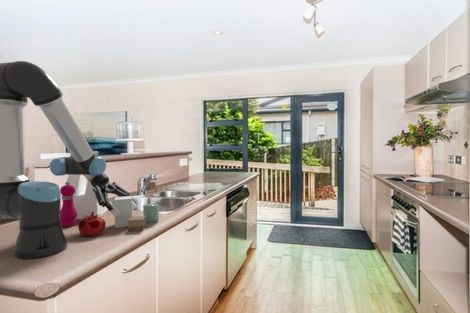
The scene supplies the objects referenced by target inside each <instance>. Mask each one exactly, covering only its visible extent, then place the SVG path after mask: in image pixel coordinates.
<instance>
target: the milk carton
mask: <svg viewBox="0 0 470 313" xmlns="http://www.w3.org/2000/svg"><path fill="white" fill-rule="evenodd" d="M66 182H70V184H69V185H72V186H74V187H75V193H74V194H73V195H74V199H73V204H74V207H75V209H76V211H77V217H76V219H75V220H81V219H83V218H84V216H85V218H86V217H87V216H90V215H91V214H92V212H94V216H95V215H98V214H100V215H98V216H97V217H99V216H100V217H101V216H102V215H103V214H104V213H106V212H107V211H109V210H108V209H107V208H106V207H102V206H100V205H99V203H98V201H97V198H96V195H95V193H94V191H93V190H92V189H93V188H94V187H93V186H92V185H91V184H90V182H89V181H88V180H87V179H86V178H85V177H84V176H83V175H69V174H68V175H67V180H66ZM100 217H99V218H100Z"/></svg>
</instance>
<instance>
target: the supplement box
mask: <svg viewBox="0 0 470 313" xmlns="http://www.w3.org/2000/svg"><path fill="white" fill-rule="evenodd" d="M132 201H133V197H132V195H129V196H126V197H119V196H115V198H114V199H113V203H114V204H113V205H114V206H115V207H116V209H117V210H118V211H119V212H120V213H119V214H118V215H117V217H115V216H114V228H115V229H118V228H125V227H126V228H127V227H128V220H129V219H130V218H131V217H132V216H133V210H132Z"/></svg>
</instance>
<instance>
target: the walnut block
mask: <svg viewBox="0 0 470 313" xmlns="http://www.w3.org/2000/svg"><path fill="white" fill-rule="evenodd" d="M146 225H147V224H146V216H143V215H139V216H138V215H136V216H135V215H134V216H133V215H132V217H131V218H130V219H129V220H128V228H127V229H128V232H142V231H141V230H143V231H144V230H145V229H146V228H147V226H146ZM144 228H145V229H144Z"/></svg>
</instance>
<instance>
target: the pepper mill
mask: <svg viewBox="0 0 470 313" xmlns="http://www.w3.org/2000/svg"><path fill="white" fill-rule="evenodd" d="M69 184H70V182H67V181H66V182H65V184H64V185H62V186H61V187H60V188H59V189H60V195H61V200H62V205H61V228H67V227H68V228H69V227H75V226H77V219H76V217H77V211H76V209H75V207H74V204H73V199H74V195H73V194H74V193H75V187H74V186H72V185H69Z"/></svg>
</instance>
